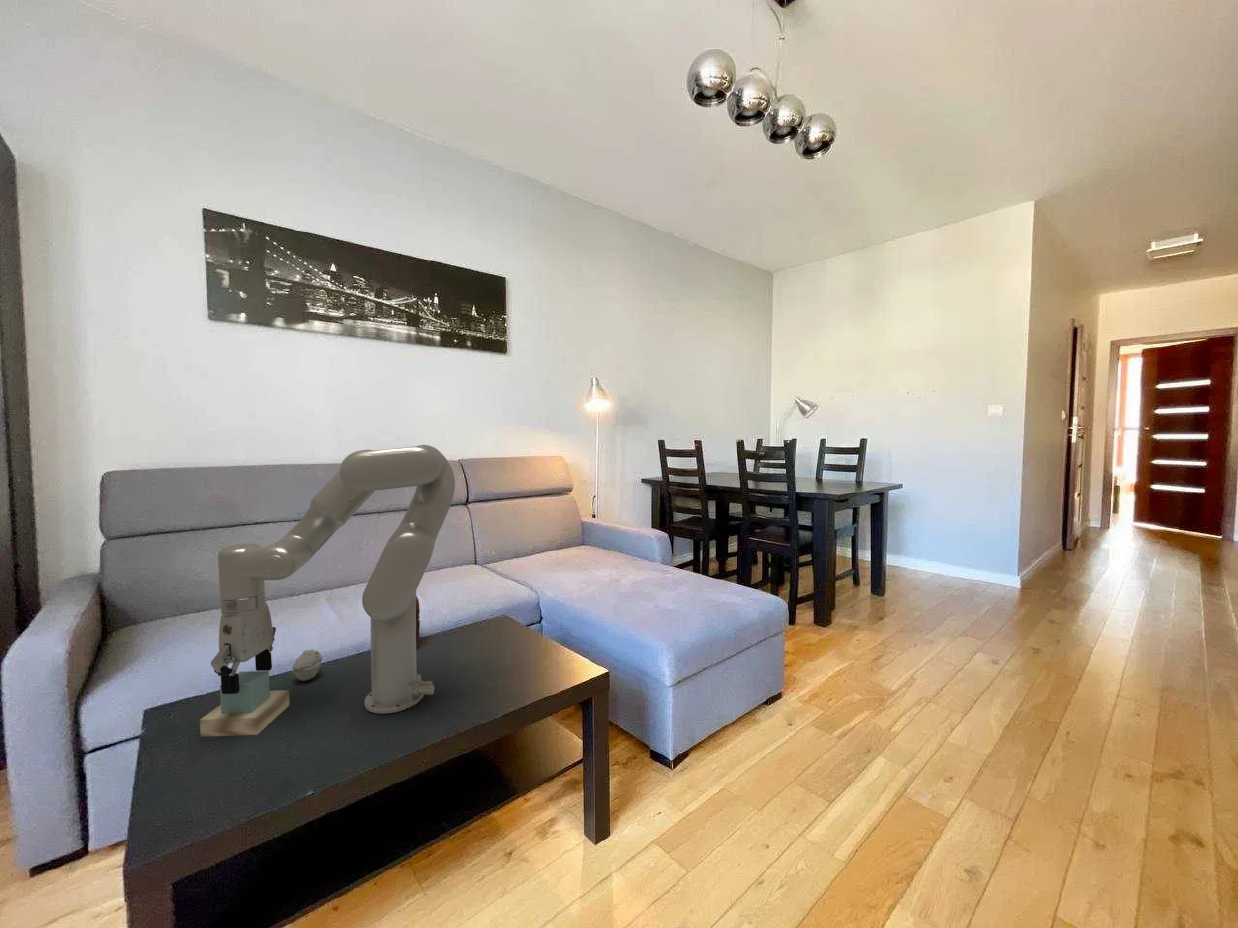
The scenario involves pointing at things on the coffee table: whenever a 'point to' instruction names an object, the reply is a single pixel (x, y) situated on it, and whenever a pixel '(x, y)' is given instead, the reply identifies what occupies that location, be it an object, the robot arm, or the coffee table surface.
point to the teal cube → (247, 693)
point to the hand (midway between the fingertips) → (248, 681)
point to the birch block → (244, 718)
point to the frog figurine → (307, 665)
